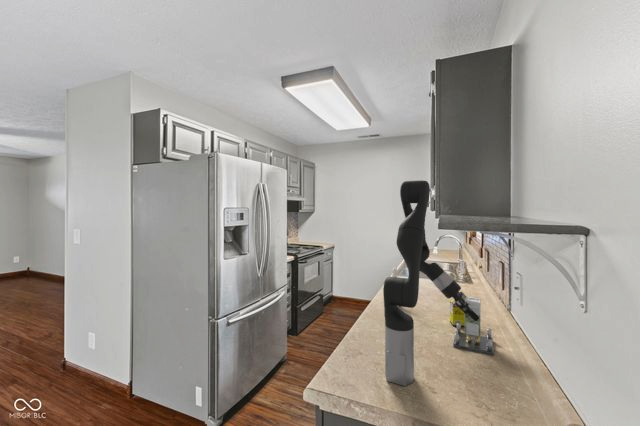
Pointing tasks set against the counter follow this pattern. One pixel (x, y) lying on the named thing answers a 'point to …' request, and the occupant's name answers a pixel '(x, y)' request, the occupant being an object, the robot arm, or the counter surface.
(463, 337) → the chassis plate
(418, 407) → the counter surface
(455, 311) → the supplement box
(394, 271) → the cosmetic bottle
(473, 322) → the syrup box
